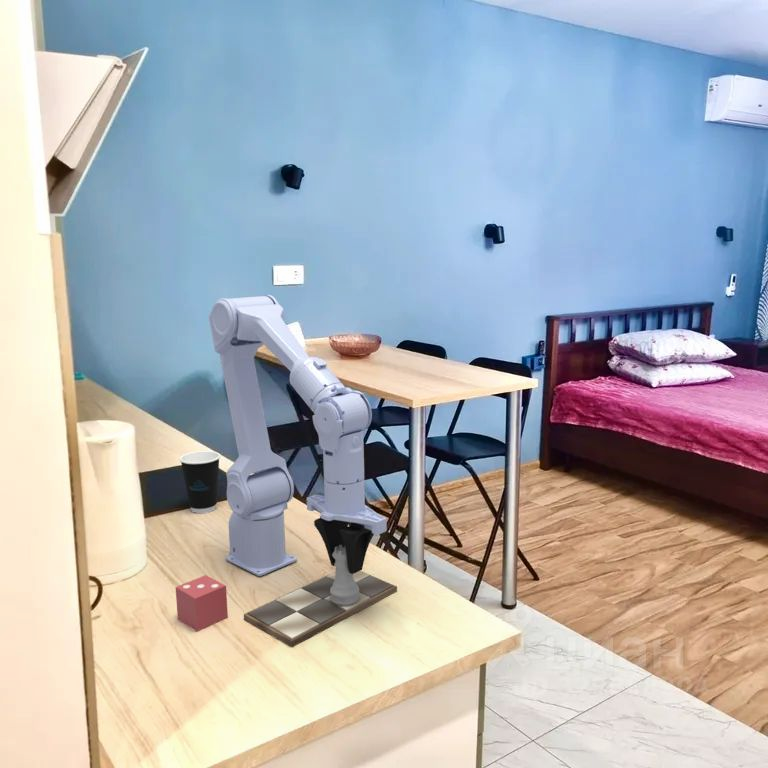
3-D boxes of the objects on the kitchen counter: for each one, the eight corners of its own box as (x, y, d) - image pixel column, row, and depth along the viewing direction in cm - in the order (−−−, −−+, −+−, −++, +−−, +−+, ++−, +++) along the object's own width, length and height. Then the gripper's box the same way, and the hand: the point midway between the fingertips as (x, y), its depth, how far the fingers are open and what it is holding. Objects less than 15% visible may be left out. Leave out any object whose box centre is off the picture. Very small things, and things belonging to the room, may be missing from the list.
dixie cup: (213, 499, 150) (209, 448, 147) (230, 509, 144) (227, 456, 141) (176, 508, 145) (172, 455, 143) (193, 519, 139) (189, 465, 136)
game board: (243, 619, 102) (243, 612, 101) (348, 570, 116) (348, 564, 116) (291, 647, 94) (291, 640, 94) (397, 591, 109) (396, 585, 109)
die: (177, 619, 102) (175, 586, 101) (207, 606, 106) (205, 574, 105) (197, 632, 99) (195, 598, 98) (227, 618, 102) (225, 585, 101)
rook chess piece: (341, 589, 108) (339, 539, 106) (366, 596, 105) (364, 545, 104) (323, 602, 104) (321, 550, 102) (348, 609, 102) (347, 556, 100)
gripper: (289, 474, 104) (293, 561, 106) (360, 497, 94) (362, 592, 96) (325, 462, 109) (328, 546, 111) (396, 483, 99) (397, 575, 102)
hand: (346, 567), depth 104 cm, fingers closed on rook chess piece, 3 cm apart
